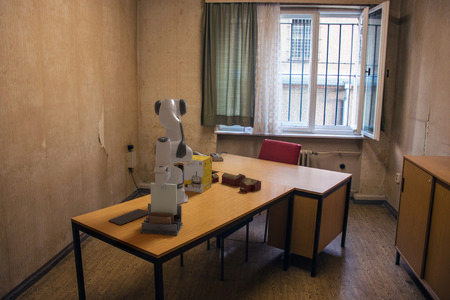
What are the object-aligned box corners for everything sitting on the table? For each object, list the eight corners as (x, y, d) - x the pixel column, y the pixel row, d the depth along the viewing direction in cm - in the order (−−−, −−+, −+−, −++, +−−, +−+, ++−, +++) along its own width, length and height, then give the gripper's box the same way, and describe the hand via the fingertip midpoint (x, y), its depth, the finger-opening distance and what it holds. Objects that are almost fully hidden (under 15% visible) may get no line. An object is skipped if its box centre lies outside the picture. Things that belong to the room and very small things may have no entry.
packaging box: (183, 190, 285) (183, 158, 280) (193, 184, 299) (193, 154, 294) (202, 192, 279) (203, 160, 274) (211, 187, 293) (212, 156, 288)
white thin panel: (151, 212, 215) (151, 182, 211) (176, 213, 213) (176, 184, 210) (151, 213, 213) (150, 183, 210) (176, 214, 212) (176, 184, 208)
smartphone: (106, 220, 219) (138, 208, 240) (107, 222, 220) (138, 210, 240) (120, 225, 212) (151, 212, 233) (120, 227, 213) (151, 214, 233)
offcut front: (150, 227, 208) (150, 216, 207) (171, 229, 207) (171, 217, 206) (149, 229, 206) (149, 217, 205) (170, 230, 205) (170, 218, 204)
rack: (148, 222, 219) (147, 202, 216) (182, 225, 217) (182, 204, 214) (140, 233, 204) (139, 211, 202) (177, 235, 202) (177, 214, 200)
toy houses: (262, 188, 294) (263, 176, 292) (247, 194, 279) (247, 181, 277) (221, 178, 323) (221, 166, 321) (204, 182, 308) (205, 170, 306)
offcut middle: (151, 224, 212) (151, 211, 210) (173, 226, 211) (173, 213, 209) (150, 226, 210) (150, 213, 208) (172, 227, 209) (172, 214, 207)
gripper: (163, 161, 218) (163, 183, 221) (153, 170, 198) (153, 194, 201) (173, 162, 218) (173, 184, 220) (164, 170, 198) (164, 195, 200)
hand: (163, 189), depth 210 cm, fingers closed on white thin panel, 2 cm apart
